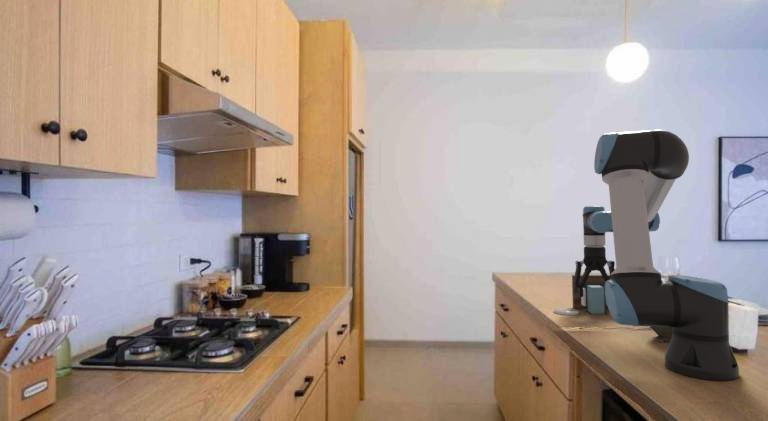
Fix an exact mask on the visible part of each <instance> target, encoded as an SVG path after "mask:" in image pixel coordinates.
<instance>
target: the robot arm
mask: <svg viewBox="0 0 768 421" xmlns="http://www.w3.org/2000/svg"><path fill="white" fill-rule="evenodd" d="M594 154H595V155H594V160H593V161H594V162H593V166H594V167H593V168H594V172H595V173H596V174H597V175H601V179H602V180H601V181H602V182H603V183H605V184H606V185H608V192H609V201H610V202H609V204H610V210H609V211H608V210H606V211H605V207H604V206H602V205H592V206H588V205H587V206H584V207H583V209H582V223H583V225H582V226H583V245H584V247H583V259H582V260H579V261H578V260H576V261H575V262H574V263H575V272H574V275H575V277H574V282H573V285H574V286H575V287H578V289H579V296H580V297H581V305H583V306H586V289H584V288H583V287H584V285H585V283H586V281H587V279H588V276H589V275H591V273H592V271H593V272H594V271H598V272H600V273H599V274H600V275H602V277H603V279H604V281H605V296H606V305H607V306H608V309H607V310H608V311H609V314H610V316H611V318H612V319H613V321H614V322H616V323H617V324H619V325H623V326H632V327H650V326H652V327H672V338H671V341H670V342H669V344H668V346H667V349H666V352H665V354H664V366H666V368H667V369H669V370H671V371H673V372H676V373H677V374H681V375H684V376H686V377H687V376H688V377H690V378H691V377H692V378H695V379H696V378H697V379H703V380H707V381H732V380H733V381H734V380H735V379H738V378H739V377H740V368H739V365H738V361H737V360H736V357H735V354H734V352H733V349H732V346H731V345H730V329H729V327H730V326H729V324H730V323H729V315H730V314H729V304H730V301H729V297H728V295H729V294H728V288H727V287H726V285H725V284H723V283H722V282H720V281H716V280H712V279H707V278H702V277H697V276H690V275H689V276H688V275H681V274H680V275H679V274H677V275H676V274H673V275H670V276H671V278H670V281H668V280H666V281H665V280H662V274H661V273H662V272H660V271H659V270H657V269H656V268H655V266H654V262H653V252H652V245H651V238H650V232H656V231H658V230H659V228H660V224H661V218H660V214H659V211H660V209H661V207H662V205H663V203H664V201H665V199H666V198H667V196H668V194H669V192H670V190H671V189H672V187H673V185H674V183H675V182H676V180H678V179H679V178H681V177H682V176H684V173H685V172H686V170H687V168H688V165H689V161H690V153H689V149H688V147H687V145H686V144H685V142H684V141H683V140H682V139H681V138H680V137H679V136H678V135H677V134H675V133H673V132H671V131H668V130H664V129H652V130H636V131H621V132H620V131H616V132H609V133H604V134H601V136H600V137H599V139H598V141H597V144H596V148H595V153H594ZM606 233H613V245H614V255H615V261H614V260H607V256H606V254H607V252H606V247H605V246H606ZM583 265H584V266H585V267H584V268H585V269H584V271H583V274H582V267H583ZM606 265H607V268H608V272H609V274H608V273H607V271H606V268H605V266H606ZM615 266H616V267H615ZM580 275H583V276H582V278H581V280H580ZM608 275H610V277H611V279H609V277H608ZM579 280H580V282H579Z"/></svg>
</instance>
